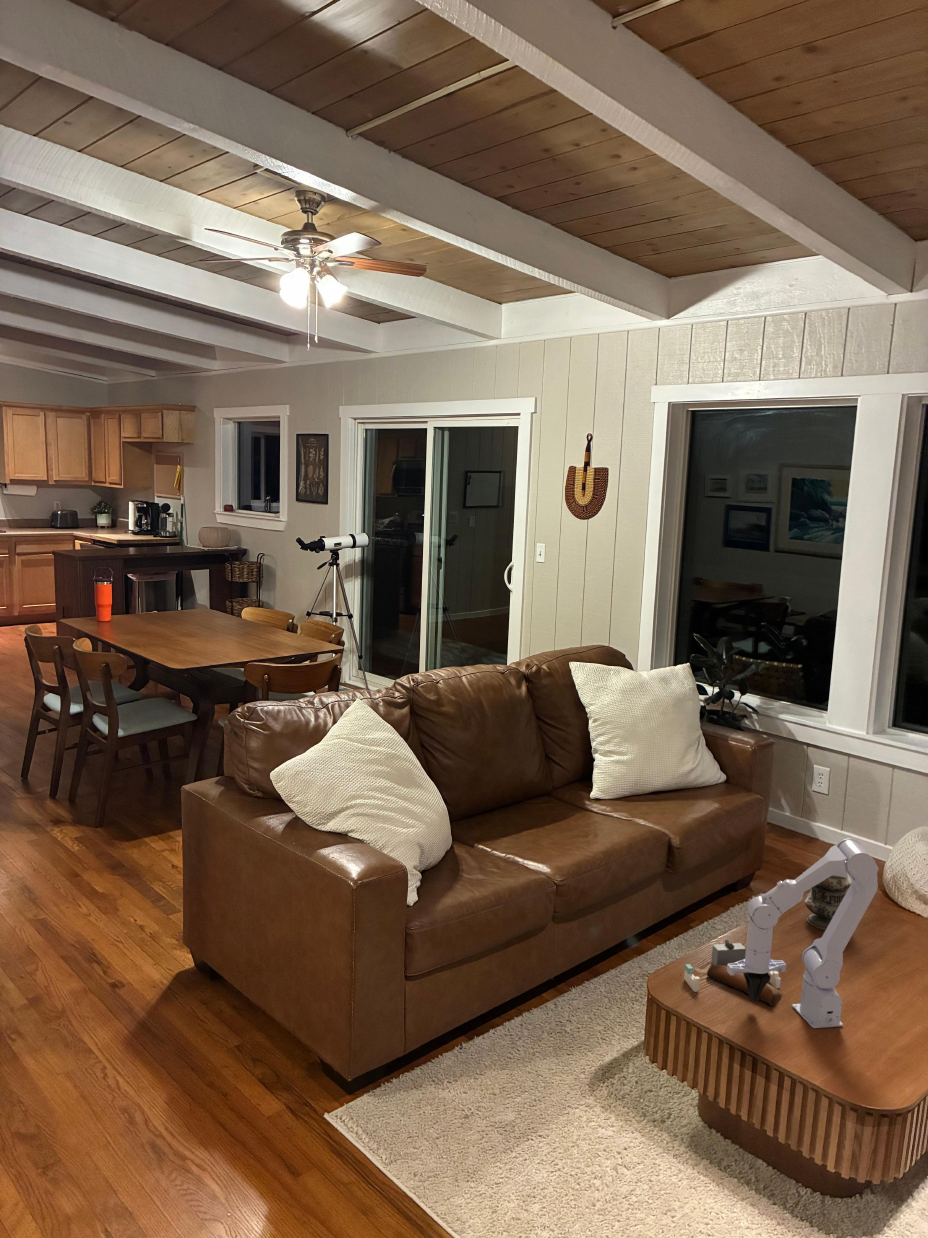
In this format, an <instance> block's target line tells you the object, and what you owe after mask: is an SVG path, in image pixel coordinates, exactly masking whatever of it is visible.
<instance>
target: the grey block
mask: <svg viewBox="0 0 928 1238" xmlns="http://www.w3.org/2000/svg"><path fill="white" fill-rule="evenodd" d="M745 953H746V946H744V945H743V944H742V943H741V942H736V943H735V942H734V943H732V942H731V941H730V940H729V939H725V940H724V943H719V944H716V943H715V944H712V950H711V961H710V962H711V963H712V965H721V966H727V964H731V963H735V962H738V961H741V960H744V959H745Z"/></svg>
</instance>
